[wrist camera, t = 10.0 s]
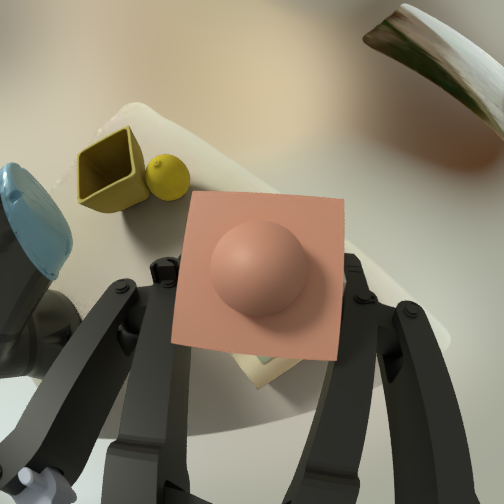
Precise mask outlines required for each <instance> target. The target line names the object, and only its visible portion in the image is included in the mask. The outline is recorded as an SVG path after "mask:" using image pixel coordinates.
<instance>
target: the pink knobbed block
mask: <svg viewBox="0 0 504 504" xmlns="http://www.w3.org/2000/svg"><path fill="white" fill-rule="evenodd" d="M343 274H344V199H335V198H324V197H313V196H300V195H285V194H269V193H249V192H222V191H192V197H191V202H190V207H189V213H188V218H187V224H186V230H185V236H184V242H183V248H182V255H181V262H180V269H179V276H178V283H177V291H176V299H175V308H174V317H173V326H172V337H171V343H174V344H179V345H185V346H190V347H196V348H202V349H209V350H216V351H223V352H230V353H238V354H246V355H255V356H265V357H276V358H289V359H305V360H327V361H337V353H338V344H339V334H340V323H341V310H342V294H343Z"/></svg>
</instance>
